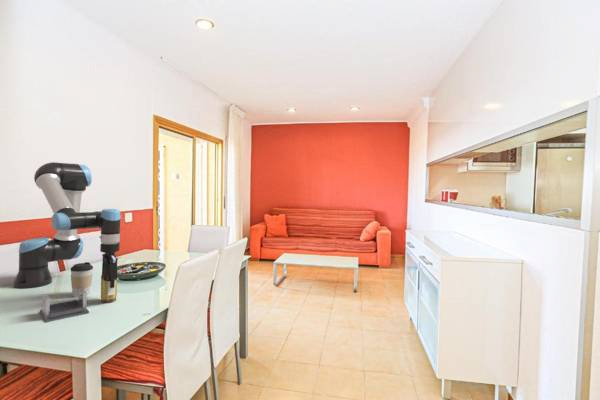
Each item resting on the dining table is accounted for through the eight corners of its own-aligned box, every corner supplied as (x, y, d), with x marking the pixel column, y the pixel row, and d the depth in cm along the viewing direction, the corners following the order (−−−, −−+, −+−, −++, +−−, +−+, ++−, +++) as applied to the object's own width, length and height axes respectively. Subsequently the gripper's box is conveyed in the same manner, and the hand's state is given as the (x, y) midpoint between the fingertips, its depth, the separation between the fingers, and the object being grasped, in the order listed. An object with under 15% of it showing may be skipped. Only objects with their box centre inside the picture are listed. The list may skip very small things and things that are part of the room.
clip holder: (40, 311, 129) (40, 292, 129) (80, 303, 139) (80, 286, 139) (45, 322, 120) (46, 302, 119) (88, 313, 130) (89, 294, 130)
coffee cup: (80, 298, 145) (81, 266, 145) (64, 296, 147) (65, 265, 146) (97, 292, 154) (97, 262, 153) (81, 290, 156) (82, 261, 155)
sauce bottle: (105, 298, 147) (106, 256, 146) (119, 298, 147) (120, 256, 147) (97, 303, 140) (98, 259, 140) (112, 303, 141) (113, 259, 140)
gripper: (94, 240, 147) (93, 289, 148) (107, 246, 134) (106, 300, 134) (112, 239, 152) (111, 285, 153) (126, 245, 139) (125, 296, 140)
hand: (108, 292), depth 144 cm, fingers closed on sauce bottle, 6 cm apart
